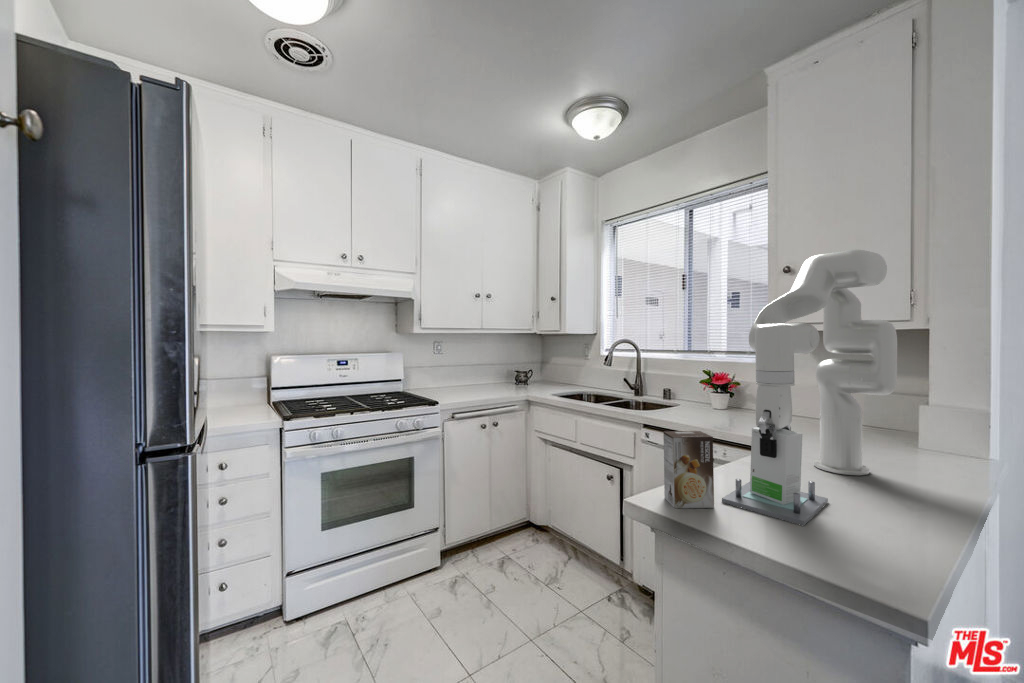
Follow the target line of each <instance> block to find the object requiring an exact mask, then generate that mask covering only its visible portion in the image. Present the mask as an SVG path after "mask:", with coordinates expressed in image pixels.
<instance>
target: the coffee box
mask: <svg viewBox="0 0 1024 683" xmlns="http://www.w3.org/2000/svg"><path fill="white" fill-rule="evenodd" d="M662 434H663V475H664V476H663V479H664V480H663V482H664V483H663V484H664V487H663V488H664V492H663V494H664V499H665V500H666V501H667V502H668V503H669V504H670V505H671V506H672V507H673V509H703V508H706V509H708V508H709V509H711V508H712V509H713V508H715V486H714V484H715V481H714V480H715V479H714V476H715V475H714V439H713V436H712V435H709V434H708V433H705V432H703V431H701V430H700V431H699V430H689V431H688V430H685V431H684V430H681V431H679V430H678V431H677V430H675V431H671V430H670V431H669V430H668V431H667V430H666V431H663V433H662Z"/></svg>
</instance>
